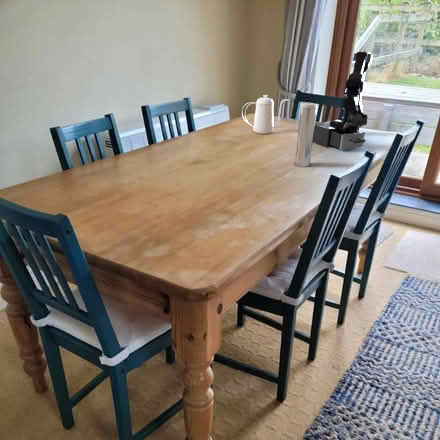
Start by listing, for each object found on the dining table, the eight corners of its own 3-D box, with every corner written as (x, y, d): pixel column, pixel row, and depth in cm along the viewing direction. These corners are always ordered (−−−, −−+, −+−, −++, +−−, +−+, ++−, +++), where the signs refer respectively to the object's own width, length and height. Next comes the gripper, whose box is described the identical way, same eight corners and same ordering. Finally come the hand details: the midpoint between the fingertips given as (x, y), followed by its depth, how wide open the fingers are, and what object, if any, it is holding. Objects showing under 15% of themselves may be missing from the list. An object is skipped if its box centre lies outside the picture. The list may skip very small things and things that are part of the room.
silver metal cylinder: (309, 167, 195) (316, 105, 182) (294, 166, 196) (300, 104, 183) (310, 162, 201) (317, 102, 187) (295, 161, 202) (301, 101, 188)
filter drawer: (369, 149, 217) (372, 134, 213) (348, 152, 212) (350, 137, 208) (344, 140, 230) (347, 126, 226) (324, 143, 224) (325, 129, 221)
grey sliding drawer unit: (349, 143, 228) (352, 126, 224) (326, 147, 222) (329, 129, 218) (331, 137, 238) (334, 120, 234) (309, 140, 233) (311, 123, 228)
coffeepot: (287, 135, 242) (290, 97, 232) (240, 133, 244) (241, 96, 234) (286, 130, 251) (290, 93, 241) (241, 128, 253) (243, 92, 243)
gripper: (347, 111, 202) (342, 147, 211) (378, 108, 210) (372, 142, 218) (331, 107, 210) (326, 141, 219) (361, 104, 218) (355, 137, 226)
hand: (345, 141), depth 220 cm, fingers closed on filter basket, 5 cm apart
